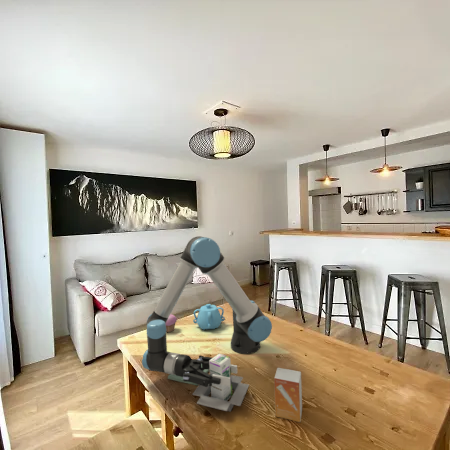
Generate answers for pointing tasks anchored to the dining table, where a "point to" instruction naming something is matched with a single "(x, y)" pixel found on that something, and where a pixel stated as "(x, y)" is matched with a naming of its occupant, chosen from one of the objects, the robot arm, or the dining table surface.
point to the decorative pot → (208, 317)
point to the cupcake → (170, 323)
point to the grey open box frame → (218, 403)
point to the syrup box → (223, 368)
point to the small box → (288, 394)
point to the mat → (178, 378)
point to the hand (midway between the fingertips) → (233, 375)
